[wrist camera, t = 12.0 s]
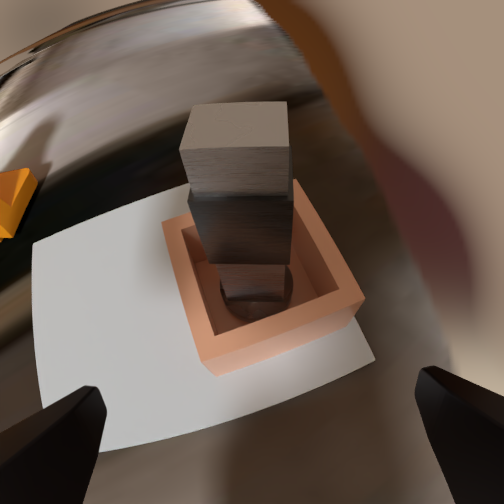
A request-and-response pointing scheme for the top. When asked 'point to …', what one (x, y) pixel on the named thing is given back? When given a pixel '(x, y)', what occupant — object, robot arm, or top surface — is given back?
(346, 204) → the top surface
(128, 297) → the bench mat
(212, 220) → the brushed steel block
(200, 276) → the holder
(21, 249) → the top surface
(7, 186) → the bracket
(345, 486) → the top surface
